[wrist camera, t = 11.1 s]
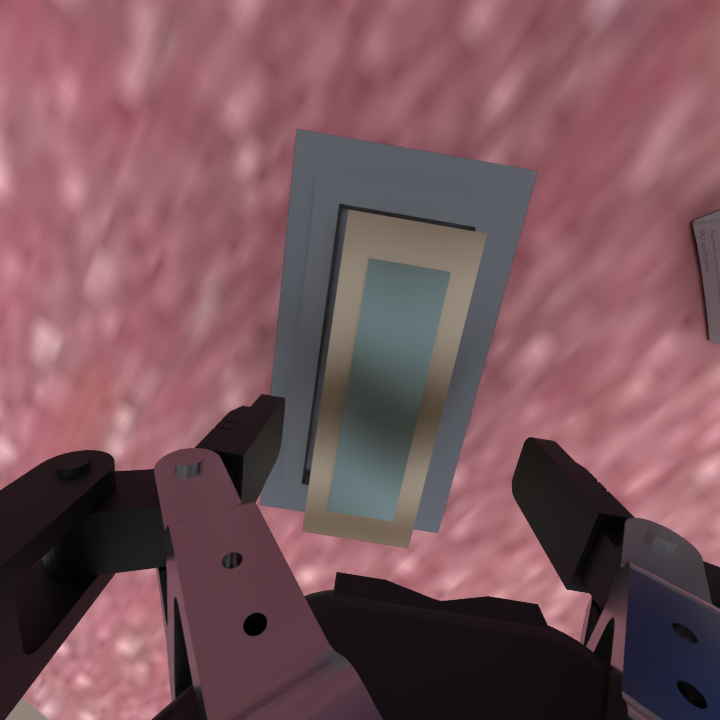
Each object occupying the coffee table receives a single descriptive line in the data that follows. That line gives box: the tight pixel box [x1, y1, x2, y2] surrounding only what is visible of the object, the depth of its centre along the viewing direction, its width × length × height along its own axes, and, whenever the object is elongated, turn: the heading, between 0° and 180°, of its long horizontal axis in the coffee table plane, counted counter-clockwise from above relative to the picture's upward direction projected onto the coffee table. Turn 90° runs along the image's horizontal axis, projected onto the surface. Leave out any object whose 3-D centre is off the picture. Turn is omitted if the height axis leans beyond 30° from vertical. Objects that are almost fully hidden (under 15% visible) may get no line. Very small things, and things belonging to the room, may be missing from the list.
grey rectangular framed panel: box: [260, 129, 537, 533], centre depth 20 cm, size 22×12×3 cm, turn 171°
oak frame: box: [302, 210, 487, 548], centre depth 17 cm, size 14×5×6 cm, turn 171°
